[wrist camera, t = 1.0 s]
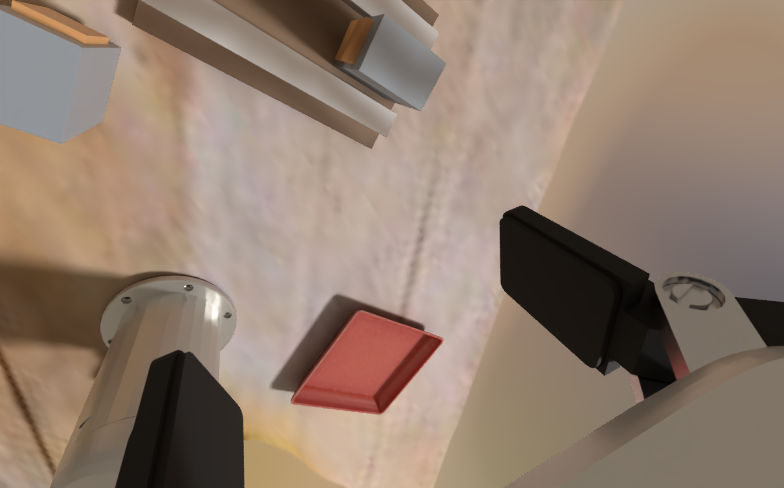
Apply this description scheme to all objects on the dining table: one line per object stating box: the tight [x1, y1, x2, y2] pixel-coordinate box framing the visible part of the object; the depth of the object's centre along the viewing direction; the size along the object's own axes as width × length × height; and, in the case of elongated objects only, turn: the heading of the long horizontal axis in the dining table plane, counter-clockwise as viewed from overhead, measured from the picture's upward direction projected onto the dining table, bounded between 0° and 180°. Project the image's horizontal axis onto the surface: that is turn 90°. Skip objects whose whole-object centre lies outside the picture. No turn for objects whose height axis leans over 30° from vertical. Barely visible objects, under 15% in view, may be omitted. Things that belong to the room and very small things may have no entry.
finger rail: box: [132, 0, 446, 149], centre depth 25 cm, size 14×21×9 cm, turn 59°
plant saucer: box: [291, 310, 443, 415], centre depth 52 cm, size 18×18×3 cm
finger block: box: [0, 0, 121, 144], centre depth 22 cm, size 4×6×8 cm, turn 149°
